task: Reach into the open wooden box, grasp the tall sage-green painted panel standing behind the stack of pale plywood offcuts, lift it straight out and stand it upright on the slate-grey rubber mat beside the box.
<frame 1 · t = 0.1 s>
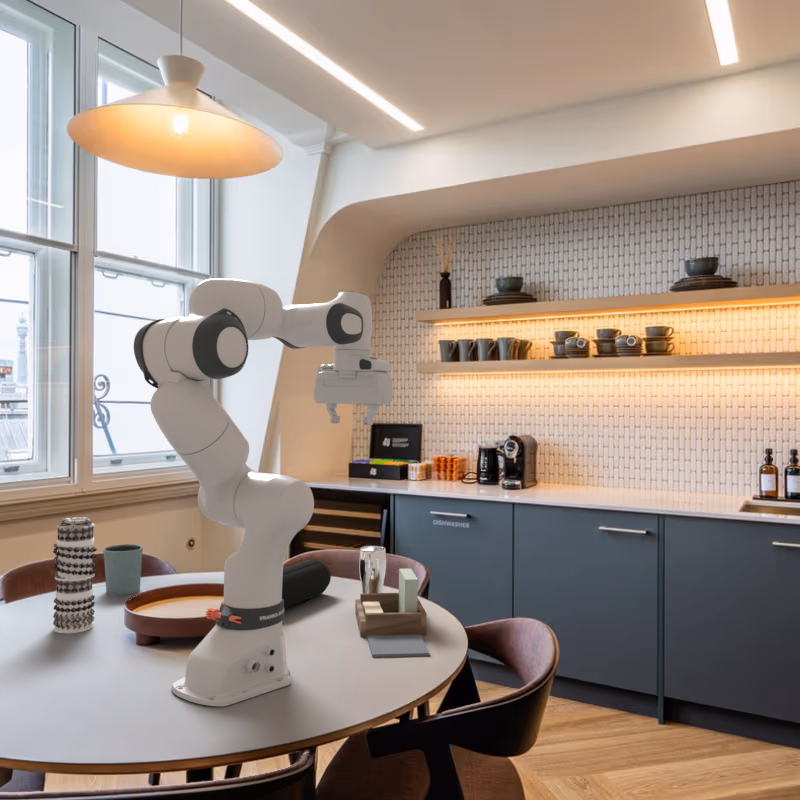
hand: (351, 424, 164), 48 cm above the table, fingers open, 8 cm apart
beer glass: (371, 606, 186), on the table
portable speaker: (291, 605, 187), on the table
offcut top: (372, 617, 171), point 2 cm above the table, touching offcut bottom
slate mat: (397, 646, 155), on the table
decorative candle: (73, 628, 164), on the table
open wooden box: (389, 623, 171), on the table
green cup: (122, 592, 196), on the table
sage panel: (407, 623, 172), on the table
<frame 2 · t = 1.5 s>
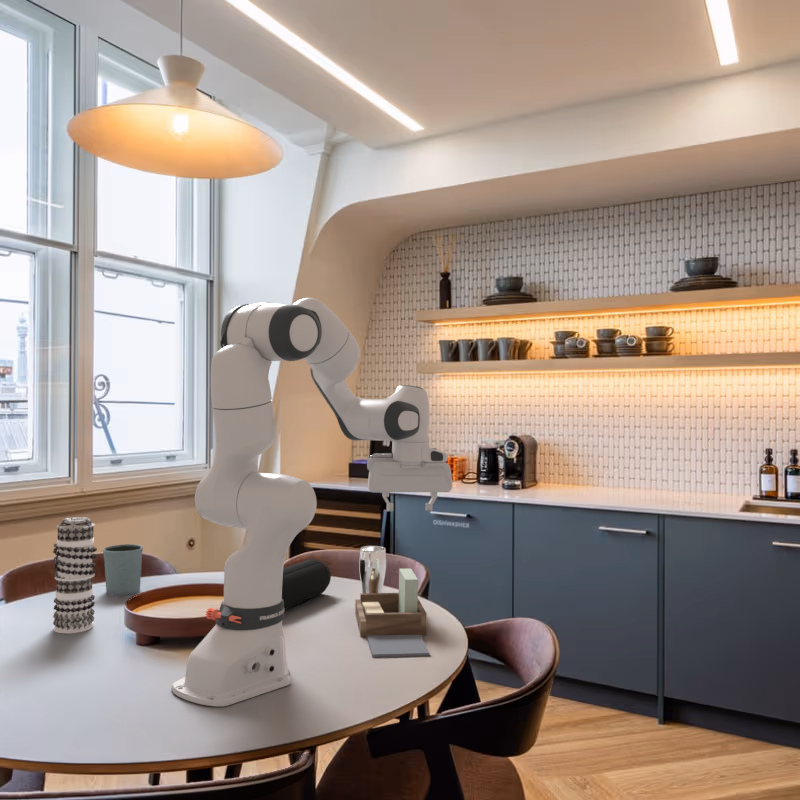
hand: (409, 510, 172), 27 cm above the table, fingers open, 8 cm apart
nothing on the table moved.
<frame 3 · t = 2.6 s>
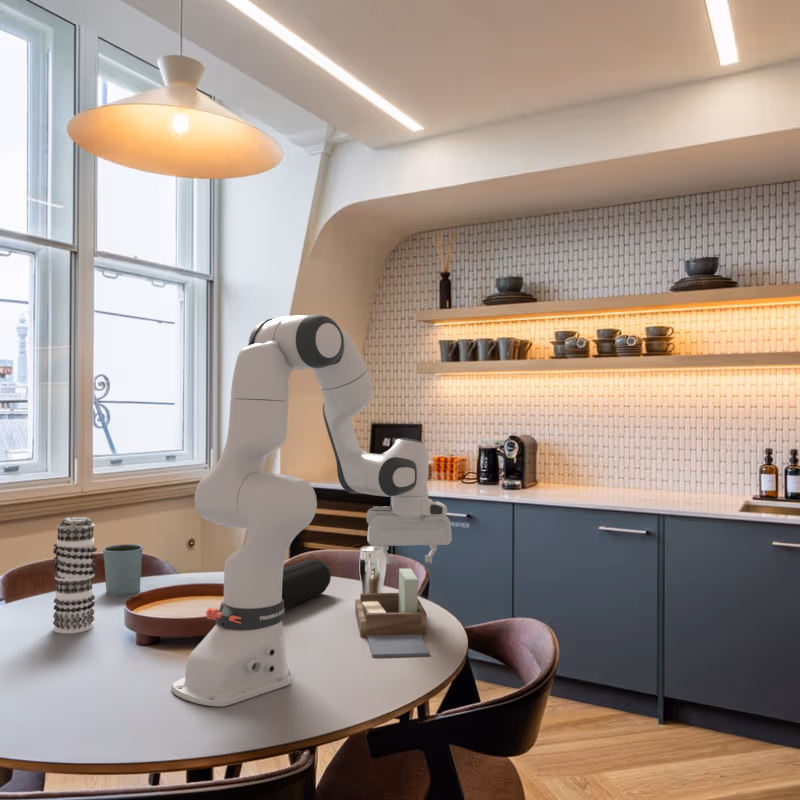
hand: (409, 563, 172), 14 cm above the table, fingers open, 8 cm apart
nothing on the table moved.
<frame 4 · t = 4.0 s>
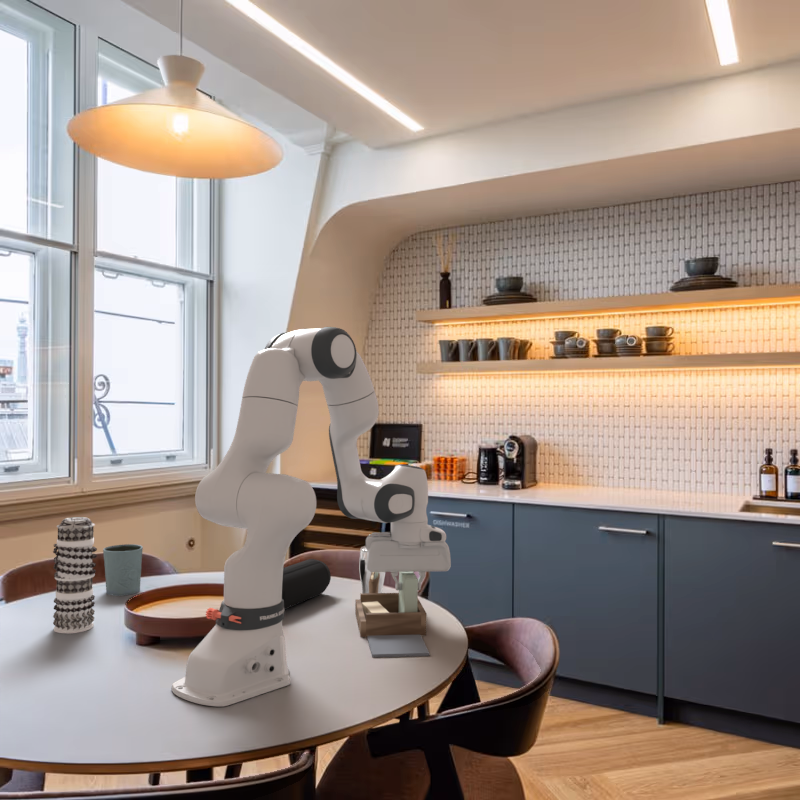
hand: (408, 589, 172), 8 cm above the table, fingers closed on sage panel, 3 cm apart
sage panel: (407, 623, 172), on the table, touching gripper
everything else where it was.
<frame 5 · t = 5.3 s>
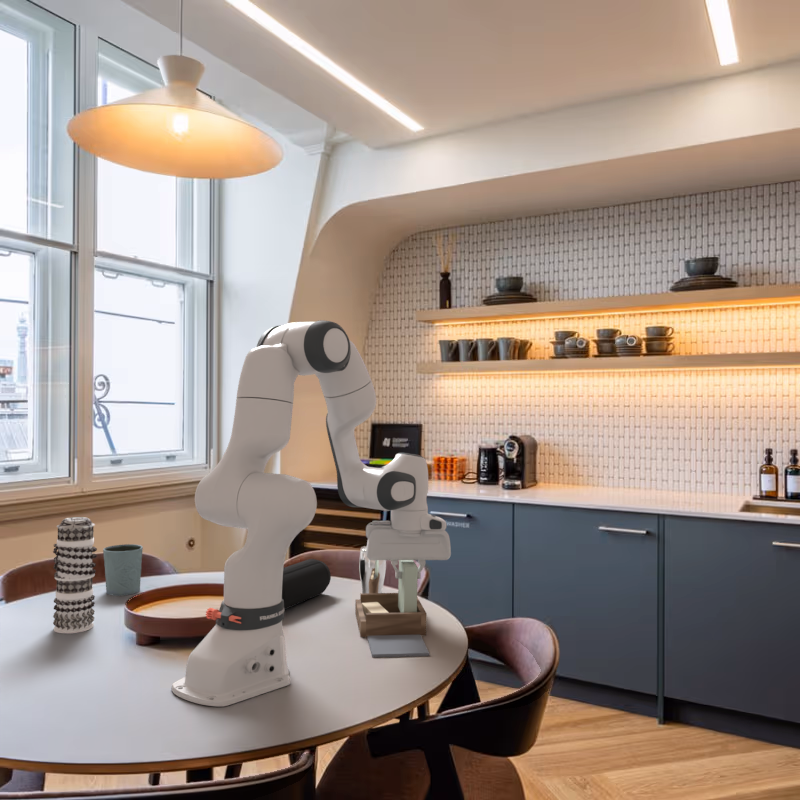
hand: (407, 578, 172), 11 cm above the table, fingers closed on sage panel, 3 cm apart
sage panel: (407, 612, 172), point 3 cm above the table, touching gripper
everything else where it was.
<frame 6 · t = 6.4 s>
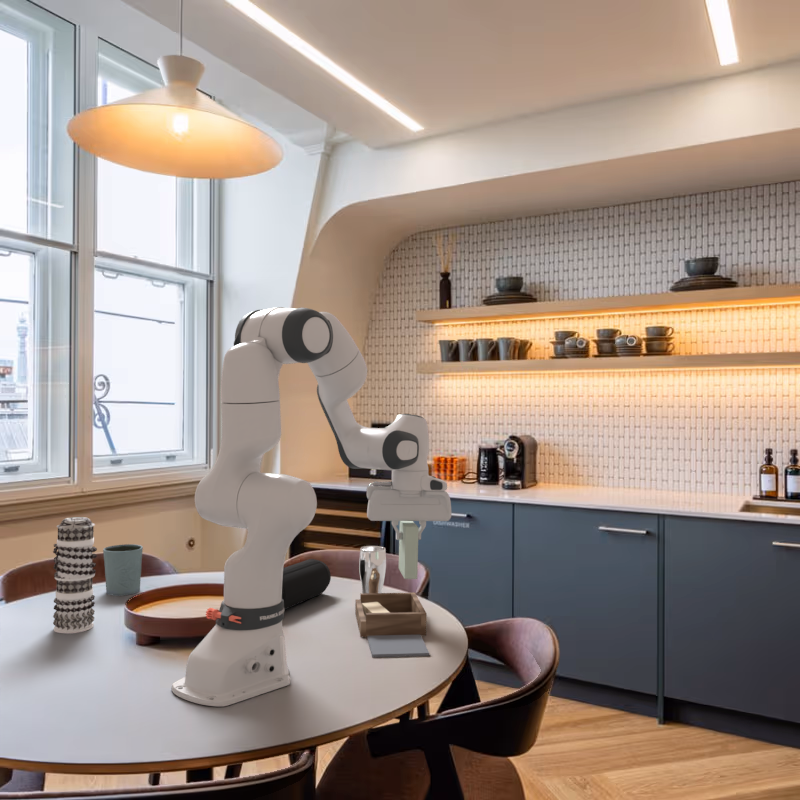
hand: (408, 539, 172), 20 cm above the table, fingers closed on sage panel, 3 cm apart
offcut top: (376, 617, 171), point 2 cm above the table
sage panel: (407, 573, 172), point 12 cm above the table, touching gripper
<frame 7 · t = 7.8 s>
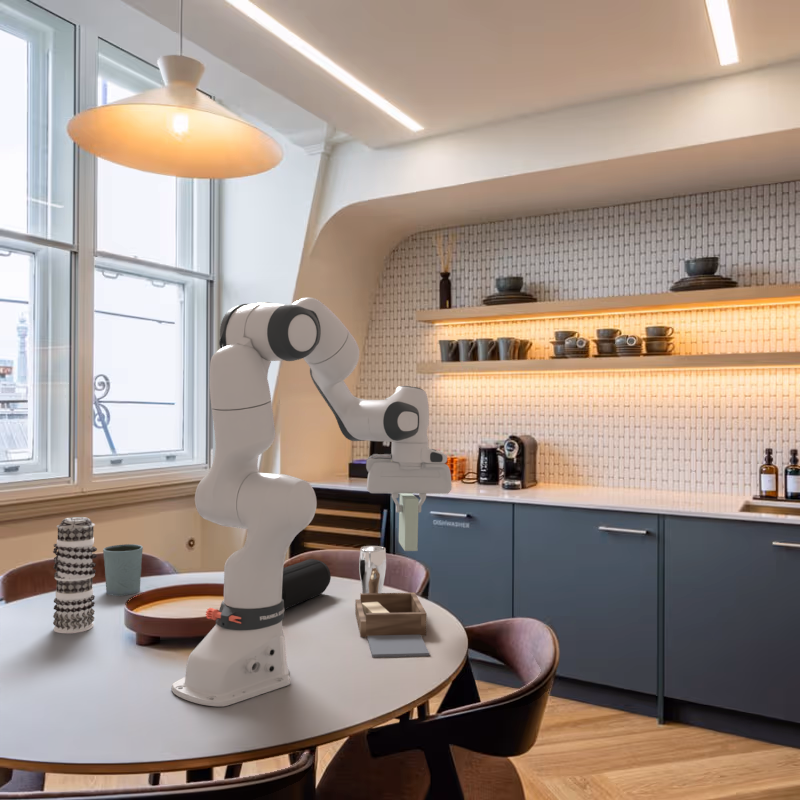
hand: (408, 512, 171), 27 cm above the table, fingers closed on sage panel, 3 cm apart
offcut top: (376, 617, 171), point 2 cm above the table, touching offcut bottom
sage panel: (407, 546, 171), point 19 cm above the table, touching gripper
when the fingers open (9 cm above the table, at t = 13.1 s): sage panel stays where it is, resting on slate mat.
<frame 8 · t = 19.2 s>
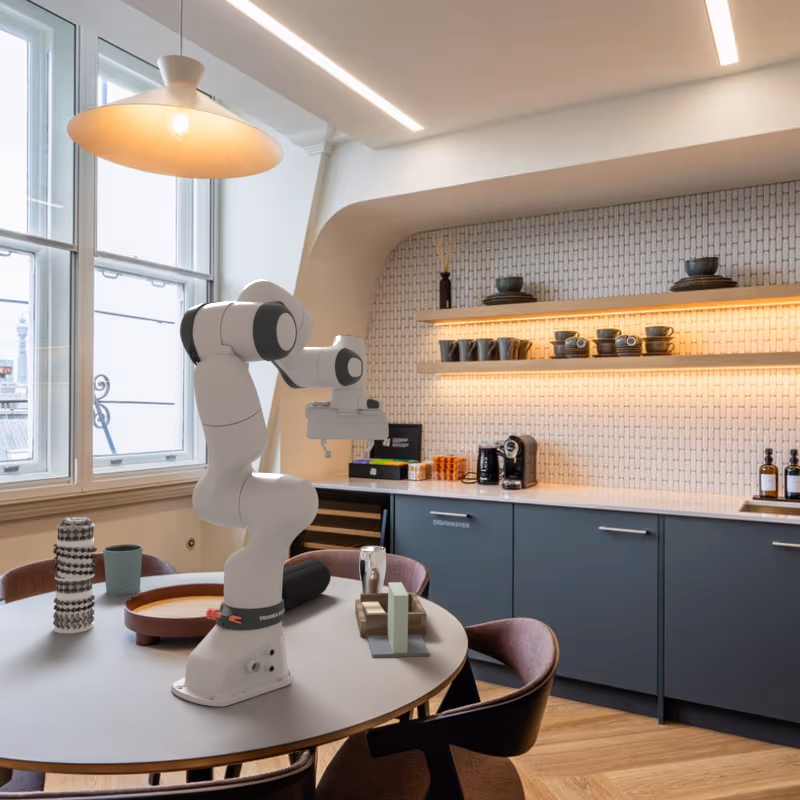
hand: (347, 458, 176), 39 cm above the table, fingers open, 8 cm apart
sage panel: (397, 644, 155), point 1 cm above the table, touching slate mat
at the end: sage panel inside the target area on the slate mat (0.1 cm from its centre), point 0.6 cm above the slate mat's base; sage panel tilted 0°; offcut top moved 0.7 cm from its start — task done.
